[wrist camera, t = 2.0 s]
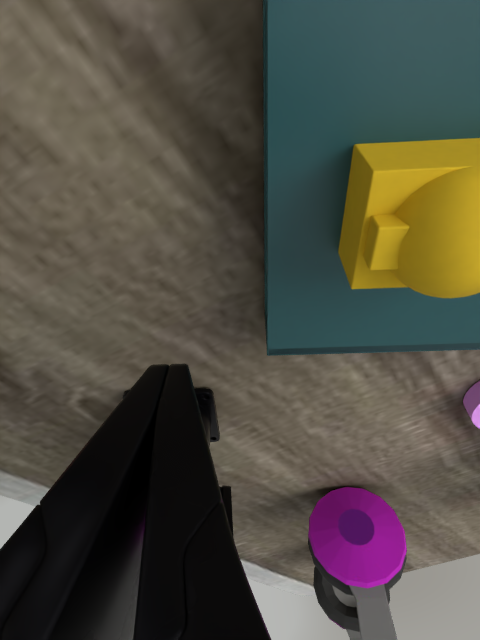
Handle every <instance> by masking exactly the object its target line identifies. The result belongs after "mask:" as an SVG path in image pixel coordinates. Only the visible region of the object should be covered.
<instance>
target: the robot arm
mask: <svg viewBox="0 0 480 640" xmlns="http://www.w3.org/2000/svg"><path fill="white" fill-rule="evenodd" d="M219 438H220V433H219V426H218V420H217V414H216V407H215V401H214V394H213V391H212V390H210V389H206V388H203V389H194V387H193V383H192V379H191V375H190V371H189V367H188V365H187V364H171V365H170V366H169V365H167V364H158V365H151V366H150V367H149V368H148V369H147V370H146V371H145V372H144V374H143V375H142V376H141V377H140V379H139V380H138V381H137V382H136V383H135V385H134V386H133V387H132V388H131V390H129V391H125V392H124V395H123V400H122V401H121V402H120V403H119V405H118V406H117V407H116V408H115V409H114V411H113V412H112V413H111V414H110V416H109V417H108V418H107V419H106V421H105V422H104V423H103V424H102V426H101V427H100V428H99V429H98V430H97V432H96V433H95V434H94V435H93V437H92V438H91V439H90V440H89V442H88V443H87V444H86V445H85V447H84V448H83V449H82V450H81V451H80V453H79V454H78V455H77V456H76V458H75V459H74V460H73V461H72V463H71V464H70V465H69V466H68V468H67V469H66V470H65V471H64V472H63V474H62V475H61V476H60V477H59V479H58V480H57V481H56V482H55V484H54V485H53V486H52V487H51V489H50V490H49V491H48V492H47V493H46V495H45V496H44V497H43V498H42V500H41V501H40V505H37V506H36V507H35V508H34V509H33V511H32V512H31V513H30V514H29V516H28V517H27V518H26V519H25V520H24V522H23V523H22V524H21V525H20V526H19V528H18V529H17V530H16V531H15V533H14V534H13V535H12V536H11V537H10V538H9V540H8V541H7V542H6V543H5V544H4V545H3V547H2V548H1V549H0V640H271V638H270V635H269V633H268V630H267V628H266V626H265V623H264V621H263V618H262V615H261V613H260V611H259V608H258V605H257V603H256V600H255V598H254V595H253V593H252V590H251V588H250V585H249V583H248V580H247V577H246V574H245V572H244V569H243V566H242V563H241V561H240V558H239V555H238V552H237V549H236V546H235V542H234V539H233V522H232V501H231V486H222V487H219V484H218V480H217V476H216V472H215V468H214V464H213V460H212V457H211V453H210V449H209V447H210V442H216V441H218V440H219Z"/></svg>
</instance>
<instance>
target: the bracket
mask: <svg viewBox="0 0 480 640" xmlns="http://www.w3.org/2000/svg"><path fill="white" fill-rule="evenodd" d="M463 404H464V407H465V409H466V411H467V412H468V414H469V416H470V418H471V420H472V422H473V424H474V425H475V426H476V427H478V428H479V429H480V381H478V382H477V383H476V384H474V385H473V386H472V387H471V388H470V389H469V390H468V391H467V392H466V394H465V396H464V399H463Z"/></svg>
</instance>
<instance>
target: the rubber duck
mask: <svg viewBox="0 0 480 640" xmlns="http://www.w3.org/2000/svg"><path fill="white" fill-rule="evenodd" d="M338 253H339V256H340V259H341V262H342V265H343V267H344V270H345V273H346V276H347V279H348V281H349V284H350V287H351V289H372V288H401V287H409V288H411V289H412V290H414V291H416V292H419V293H421V294H424V295H427V296H431V297H438V298H460V297H466V296H471V295H474V294H477V293H480V138H468V139H448V140H428V141H407V142H387V143H367V144H355V145H354V147H353V154H352V161H351V168H350V175H349V182H348V188H347V195H346V202H345V209H344V216H343V223H342V230H341V237H340V244H339V250H338Z"/></svg>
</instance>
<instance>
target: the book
mask: <svg viewBox="0 0 480 640" xmlns="http://www.w3.org/2000/svg"><path fill="white" fill-rule="evenodd" d="M263 107H264V268H265V329H266V344H267V355H268V356H270V355H305V354H339V353H374V352H409V351H443V350H478V349H480V293H477V294H474V295H471V296H466V297H460V298H438V297H431V296H427V295H424V294H421V293H419V292H416V291H414V290H412V289H411V288H409V287H401V288H372V289H351V287H350V284H349V281H348V279H347V276H346V273H345V270H344V267H343V265H342V262H341V259H340V256H339V253H338V250H339V244H340V237H341V230H342V223H343V216H344V209H345V202H346V195H347V188H348V182H349V175H350V168H351V161H352V154H353V147H354V145H355V144H367V143H387V142H407V141H428V140H448V139H468V138H480V0H263Z"/></svg>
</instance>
